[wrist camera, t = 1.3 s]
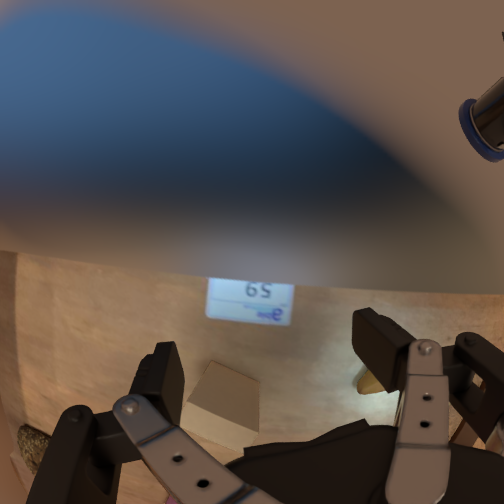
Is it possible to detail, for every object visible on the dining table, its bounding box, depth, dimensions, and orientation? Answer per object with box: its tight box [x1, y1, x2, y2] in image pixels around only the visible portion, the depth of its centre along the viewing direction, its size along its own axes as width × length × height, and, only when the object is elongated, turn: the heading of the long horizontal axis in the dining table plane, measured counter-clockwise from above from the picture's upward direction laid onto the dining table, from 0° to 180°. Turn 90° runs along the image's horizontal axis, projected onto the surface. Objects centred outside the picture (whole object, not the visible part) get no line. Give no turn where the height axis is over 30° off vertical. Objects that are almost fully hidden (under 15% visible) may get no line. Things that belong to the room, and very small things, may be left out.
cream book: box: [180, 361, 260, 454], centre depth 23 cm, size 2×6×11 cm, turn 64°
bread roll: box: [17, 426, 50, 476], centre depth 24 cm, size 13×12×5 cm
